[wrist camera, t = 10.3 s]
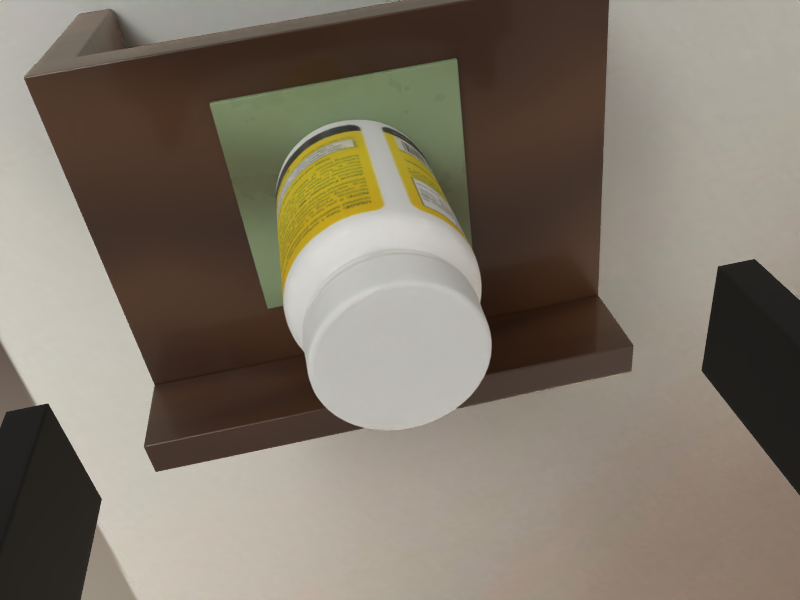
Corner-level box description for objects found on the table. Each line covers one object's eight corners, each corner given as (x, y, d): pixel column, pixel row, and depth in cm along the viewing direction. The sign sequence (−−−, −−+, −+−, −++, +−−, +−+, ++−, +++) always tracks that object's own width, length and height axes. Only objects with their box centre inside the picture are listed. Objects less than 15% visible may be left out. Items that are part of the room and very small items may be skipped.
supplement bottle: (266, 249, 23) (271, 440, 16) (286, 103, 20) (302, 254, 13) (413, 265, 24) (477, 448, 17) (448, 128, 22) (540, 278, 15)
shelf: (77, 13, 25) (-12, 116, 17) (529, -63, 26) (660, -3, 18) (181, 298, 32) (155, 472, 23) (535, 229, 33) (631, 372, 24)
